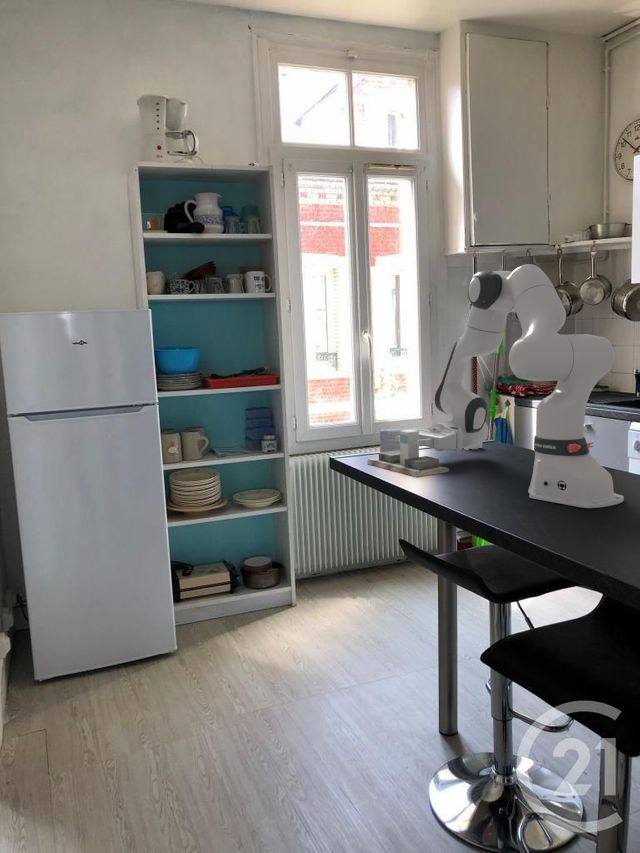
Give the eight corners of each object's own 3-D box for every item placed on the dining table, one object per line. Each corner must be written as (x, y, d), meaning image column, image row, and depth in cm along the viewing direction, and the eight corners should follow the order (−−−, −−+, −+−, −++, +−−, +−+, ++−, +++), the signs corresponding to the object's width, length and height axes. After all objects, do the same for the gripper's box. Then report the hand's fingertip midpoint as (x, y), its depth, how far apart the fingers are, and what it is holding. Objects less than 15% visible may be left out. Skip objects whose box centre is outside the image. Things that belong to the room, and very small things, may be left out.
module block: (418, 464, 208) (418, 431, 207) (407, 465, 206) (407, 432, 205) (410, 462, 212) (410, 429, 210) (399, 463, 210) (399, 430, 208)
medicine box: (404, 454, 230) (404, 428, 229) (404, 457, 226) (404, 430, 224) (380, 454, 231) (380, 429, 229) (380, 457, 226) (379, 431, 225)
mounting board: (448, 471, 201) (448, 459, 201) (416, 476, 195) (416, 464, 195) (398, 459, 222) (398, 448, 221) (367, 463, 216) (367, 452, 215)
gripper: (421, 423, 223) (386, 427, 216) (465, 430, 206) (428, 434, 199) (421, 442, 224) (386, 447, 217) (465, 451, 206) (428, 456, 200)
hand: (406, 441), depth 208 cm, fingers open, 8 cm apart
